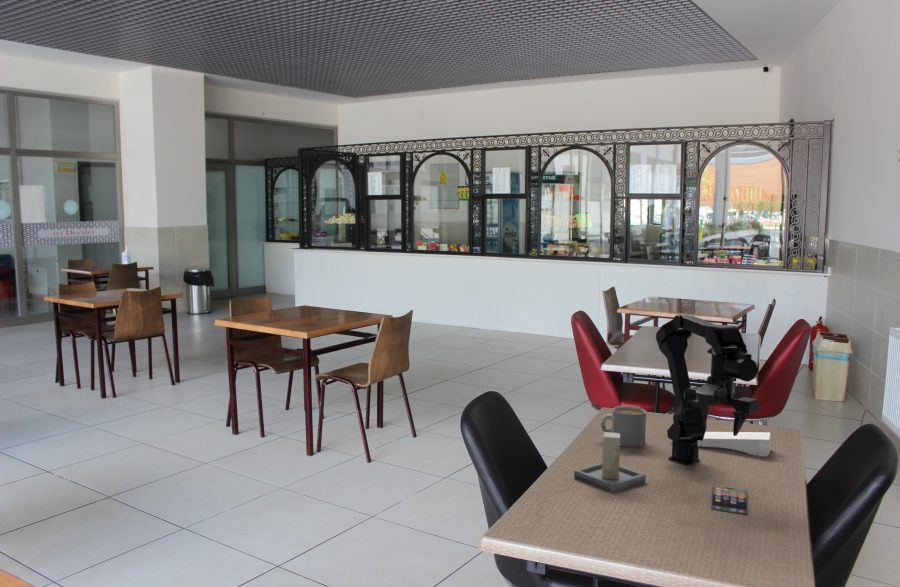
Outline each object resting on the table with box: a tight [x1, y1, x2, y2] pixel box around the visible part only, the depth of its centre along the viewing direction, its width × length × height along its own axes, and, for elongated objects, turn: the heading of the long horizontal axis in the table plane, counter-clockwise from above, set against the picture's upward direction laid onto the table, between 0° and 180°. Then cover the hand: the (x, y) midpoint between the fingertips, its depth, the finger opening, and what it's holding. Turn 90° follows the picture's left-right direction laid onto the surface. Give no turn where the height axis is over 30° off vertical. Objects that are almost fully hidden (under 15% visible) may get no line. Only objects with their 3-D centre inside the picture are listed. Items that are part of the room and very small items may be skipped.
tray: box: [573, 462, 647, 494], centre depth 189 cm, size 13×13×2 cm
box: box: [601, 431, 621, 479], centre depth 188 cm, size 5×4×11 cm
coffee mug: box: [600, 405, 647, 447], centre depth 222 cm, size 13×10×10 cm
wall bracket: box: [670, 431, 772, 458], centre depth 219 cm, size 10×7×28 cm
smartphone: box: [710, 485, 749, 516], centre depth 176 cm, size 8×15×1 cm, turn 158°
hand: (719, 431), depth 190 cm, fingers open, 9 cm apart
